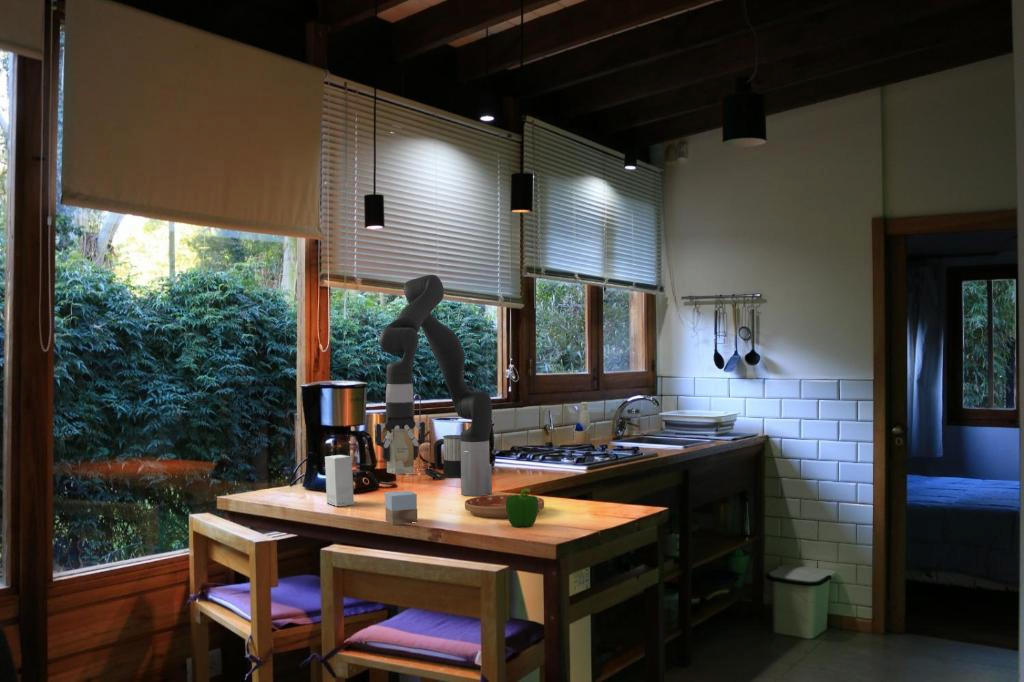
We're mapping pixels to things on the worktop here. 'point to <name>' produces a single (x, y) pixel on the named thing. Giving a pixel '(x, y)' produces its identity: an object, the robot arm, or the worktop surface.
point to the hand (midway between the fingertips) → (400, 460)
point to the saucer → (492, 506)
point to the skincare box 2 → (400, 452)
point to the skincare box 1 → (339, 480)
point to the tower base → (401, 516)
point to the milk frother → (447, 458)
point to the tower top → (400, 500)
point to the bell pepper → (522, 509)
